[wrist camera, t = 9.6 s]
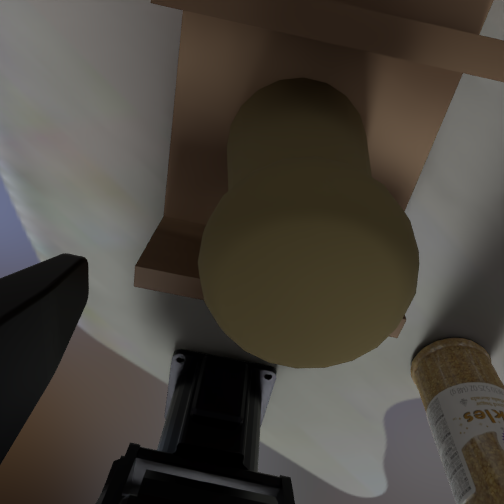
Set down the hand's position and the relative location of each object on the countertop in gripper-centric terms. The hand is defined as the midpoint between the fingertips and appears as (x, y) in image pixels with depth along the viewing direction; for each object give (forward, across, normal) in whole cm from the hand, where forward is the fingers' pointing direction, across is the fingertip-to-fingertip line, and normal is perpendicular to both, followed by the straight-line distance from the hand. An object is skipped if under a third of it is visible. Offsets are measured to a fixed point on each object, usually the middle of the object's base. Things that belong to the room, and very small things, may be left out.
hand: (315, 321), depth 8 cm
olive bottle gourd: (+12, 0, 0) cm, 12 cm away
